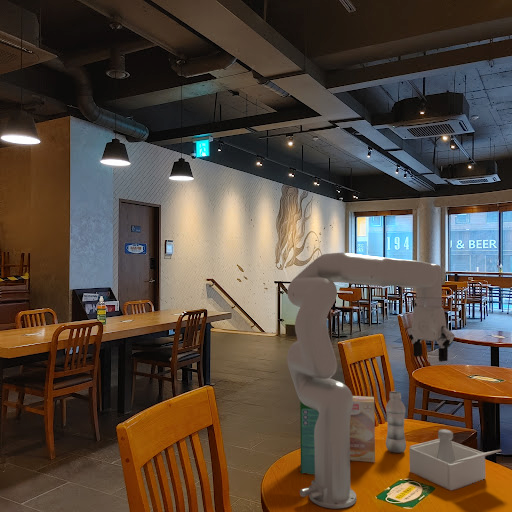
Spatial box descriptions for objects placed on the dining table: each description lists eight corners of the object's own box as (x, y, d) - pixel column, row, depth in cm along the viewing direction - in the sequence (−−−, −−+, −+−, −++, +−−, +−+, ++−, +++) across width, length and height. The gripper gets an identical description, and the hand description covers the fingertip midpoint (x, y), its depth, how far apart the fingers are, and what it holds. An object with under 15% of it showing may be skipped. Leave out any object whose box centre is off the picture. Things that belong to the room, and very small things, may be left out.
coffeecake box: (328, 459, 155) (327, 399, 156) (330, 451, 162) (329, 393, 163) (375, 462, 152) (374, 401, 153) (374, 454, 159) (374, 396, 160)
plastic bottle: (391, 446, 166) (390, 389, 167) (409, 451, 161) (408, 392, 162) (382, 451, 161) (381, 392, 162) (400, 457, 157) (399, 396, 157)
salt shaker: (458, 473, 143) (457, 429, 143) (455, 480, 138) (453, 435, 139) (438, 469, 146) (437, 426, 147) (434, 475, 141) (433, 431, 142)
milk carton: (330, 475, 142) (329, 391, 143) (300, 473, 144) (300, 390, 145) (331, 464, 151) (331, 385, 152) (303, 462, 153) (303, 384, 154)
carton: (450, 491, 132) (449, 464, 132) (407, 471, 145) (406, 446, 145) (486, 478, 139) (486, 453, 140) (442, 461, 153) (442, 437, 153)
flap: (452, 461, 133) (453, 463, 132) (470, 458, 128) (471, 460, 128) (482, 452, 139) (483, 454, 139) (501, 449, 134) (501, 450, 134)
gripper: (399, 302, 153) (400, 355, 153) (444, 305, 138) (445, 364, 138) (415, 301, 157) (416, 353, 156) (460, 304, 142) (462, 361, 141)
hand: (430, 358), depth 147 cm, fingers open, 9 cm apart
